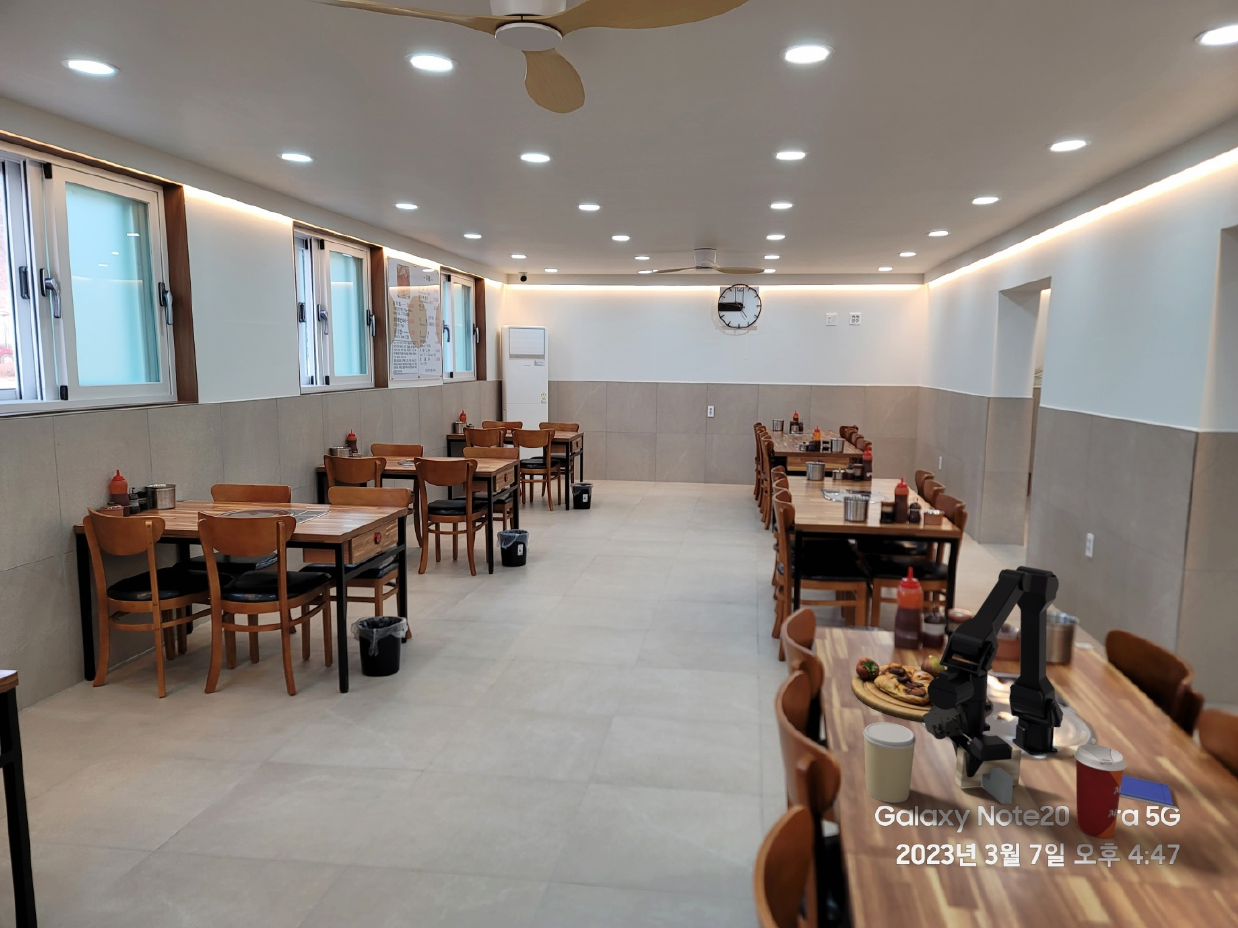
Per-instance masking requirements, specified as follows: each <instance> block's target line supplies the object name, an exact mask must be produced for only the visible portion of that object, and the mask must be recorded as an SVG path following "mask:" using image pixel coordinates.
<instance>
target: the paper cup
mask: <svg viewBox="0 0 1238 928" xmlns="http://www.w3.org/2000/svg"><path fill="white" fill-rule="evenodd" d="M1073 755H1074V758H1075V760H1076V761H1075V762H1076V765H1075V767H1076V769H1075V770H1076V771H1075V773H1076V774H1075V775H1076V776H1075V778H1076V780H1075V782H1076V785H1075V786H1076V790H1075V791H1076V793H1075V794H1076V825H1077V828H1078V829H1079V830H1080V831H1081V832H1082V833H1084V834H1085V835H1088V836H1091V837H1094V838H1098V839H1111V838H1113V836H1114V834H1115V831H1116V824H1117V818H1118V811H1119V804H1120V798H1121V797H1120V791H1121V783H1122V776H1124V770H1125V769H1126V767H1127V763H1126V762H1125V760H1124V756H1123V755H1122V754H1121V752H1119V751H1117V750H1116V749H1113V748H1111V747H1108V746H1104V745H1100V744H1090V743H1088V744H1082V745H1079V746H1078V747H1077V749H1076V751H1075V752H1074V754H1073Z"/></svg>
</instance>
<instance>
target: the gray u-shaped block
mask: <svg viewBox="0 0 1238 928" xmlns="http://www.w3.org/2000/svg"><path fill="white" fill-rule="evenodd" d="M1013 786H1014V785H1013V777H1012V776H1011V775H1010V774H1008V773H1007V772H1006V771H1004V770H1003V769H1002V768H1001V767H1000V768H991V774H982V782H981V786H980V787H981V788H983V790H985V791H986V792H987V793H989V795H991V796H992V797H993V798H994V799H996V801H998V802H999V803H1000V804H1001V805H1003V804H1004V805H1005V804H1012V803H1013V791H1014V790H1013V789H1014V788H1013Z"/></svg>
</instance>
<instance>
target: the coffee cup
mask: <svg viewBox="0 0 1238 928" xmlns="http://www.w3.org/2000/svg"><path fill="white" fill-rule="evenodd" d="M863 739H864V740H863V742H864V744H863V745H864V765H865V766H864V769H865V786H866V787H865V788H866V792H867V793H868V795H870V797H872V798H873V799H876V800H878V801H880V802H884V803H885V802H886V803H890V804H891V803H892V804H896V803H902V802H905V801H906V800H908V799H909V796H910V788H911V780H912V773H913V772H912V771H913V764H914V756H915V755H914V754H915V745H916V740H917V739H916V737H915V734H914V732H913V731H912V730H911V729H909V728H908V727H906V726H904V725H901V724H897V723H893V722H888V721H887V722H886V721H884V722H883V721H882V722H881V721H880V722H873V723H870V724H868V725H867V726H866V727H865V728H864V730H863Z"/></svg>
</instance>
